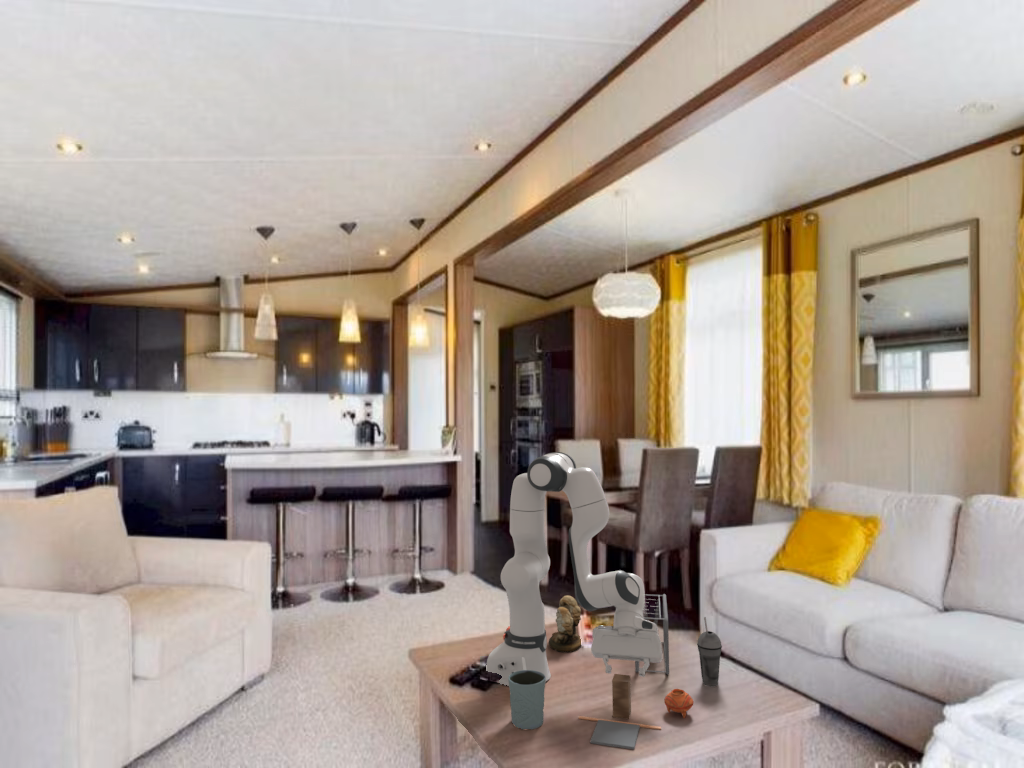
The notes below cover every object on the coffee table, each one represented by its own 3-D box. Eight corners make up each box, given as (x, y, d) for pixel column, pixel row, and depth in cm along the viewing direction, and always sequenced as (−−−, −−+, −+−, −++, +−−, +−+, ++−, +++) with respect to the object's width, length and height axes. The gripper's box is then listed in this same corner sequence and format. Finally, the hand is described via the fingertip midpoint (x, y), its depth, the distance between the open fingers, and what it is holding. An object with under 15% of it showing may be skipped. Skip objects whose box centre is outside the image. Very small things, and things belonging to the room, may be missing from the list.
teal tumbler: (510, 731, 173) (509, 685, 174) (507, 713, 184) (507, 670, 184) (548, 729, 174) (547, 684, 174) (543, 711, 184) (543, 668, 185)
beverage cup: (724, 689, 197) (722, 621, 197) (698, 687, 198) (697, 620, 199) (721, 679, 204) (720, 614, 204) (697, 677, 205) (695, 612, 206)
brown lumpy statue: (550, 634, 245) (549, 588, 246) (581, 635, 244) (581, 588, 245) (547, 652, 228) (547, 602, 228) (582, 653, 226) (581, 603, 227)
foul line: (578, 718, 180) (578, 717, 180) (579, 717, 181) (579, 715, 181) (660, 729, 173) (660, 728, 173) (661, 727, 174) (661, 726, 174)
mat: (590, 743, 167) (590, 740, 167) (598, 721, 178) (598, 719, 178) (634, 749, 164) (634, 747, 164) (639, 727, 175) (639, 725, 175)
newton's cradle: (637, 640, 238) (636, 591, 238) (666, 642, 236) (665, 592, 236) (635, 674, 208) (634, 618, 209) (669, 677, 206) (668, 619, 207)
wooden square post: (612, 717, 181) (612, 680, 181) (615, 709, 185) (614, 673, 185) (629, 719, 179) (628, 682, 180) (631, 711, 184) (630, 675, 184)
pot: (701, 716, 180) (696, 693, 179) (676, 727, 178) (671, 703, 177) (686, 702, 188) (681, 680, 187) (662, 712, 186) (657, 690, 185)
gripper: (591, 620, 196) (586, 665, 187) (662, 624, 190) (660, 672, 181) (595, 630, 201) (590, 675, 191) (663, 635, 195) (662, 682, 185)
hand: (625, 674), depth 186 cm, fingers open, 8 cm apart
